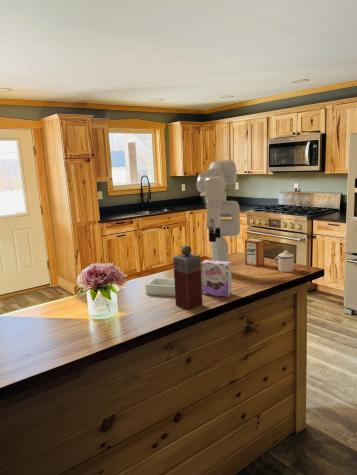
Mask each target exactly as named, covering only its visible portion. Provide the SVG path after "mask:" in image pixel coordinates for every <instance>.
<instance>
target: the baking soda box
mask: <svg viewBox="0 0 357 475" xmlns="http://www.w3.org/2000/svg"><path fill="white" fill-rule="evenodd" d="M244 255H245V256H244V257H245V259H244V260H245V262H244V264H246V265H247V266H250V265H251V267H256V268H259V267H262V266H265V240H264V239H259V238H253V237H252V238H248V239H245V240H244Z"/></svg>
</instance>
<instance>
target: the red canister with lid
mask: <svg viewBox="0 0 357 475" xmlns="http://www.w3.org/2000/svg"><path fill="white" fill-rule="evenodd" d="M201 258H202V257H201V256H200V255H198V254H195V253H194V254H193V253H192V247H191V246H189V245H186V244H185V245H183V246H182V248H181V254H178V255H174V256H173V257H172V262H173V279H174V282H175V296H174V297H175V298H174V299H175V306H176V307H179V308H181V309H184V310H186V311H190V310H194V309H196V308H199V307H200V306H203V294H202V274H201V262H202V261H201Z"/></svg>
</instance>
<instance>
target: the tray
mask: <svg viewBox="0 0 357 475" xmlns="http://www.w3.org/2000/svg"><path fill="white" fill-rule="evenodd" d="M145 295H152V296H153V295H154V296H165V297H175V282H174V278H165V277H154V278H152V279H151V280H150V281H149V282H147V283H146V284H145Z"/></svg>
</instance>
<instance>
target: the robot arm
mask: <svg viewBox="0 0 357 475" xmlns="http://www.w3.org/2000/svg"><path fill="white" fill-rule="evenodd" d="M237 171H238V170H237V165H236V163H235V161H234V160H232V159H231V160H230V159H227V160H226V159H225V160H215V161H212V162H211V163H210V164H209V166H208V169H206V170H205V171H203V172H200V173H199V174H198V177H197V180H196V189H197V191H198V192H199V193H205V208H206V229H208V241H209V242H210V243H211V244H210V245H211V249H210V250H211V261H223V262H229V243H228V241H227V240H226V239H225V237H233V236H235V237H237V236H239V235H240V233H241V216H240V215H241V212H240V211H241V210H240V204H239V202H238V201H236V200H227V193H226V191H225V189H226V187H227V185H229V186H230V185H235V184H236V183H237V180H238V172H237ZM226 218H227V219H226Z"/></svg>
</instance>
